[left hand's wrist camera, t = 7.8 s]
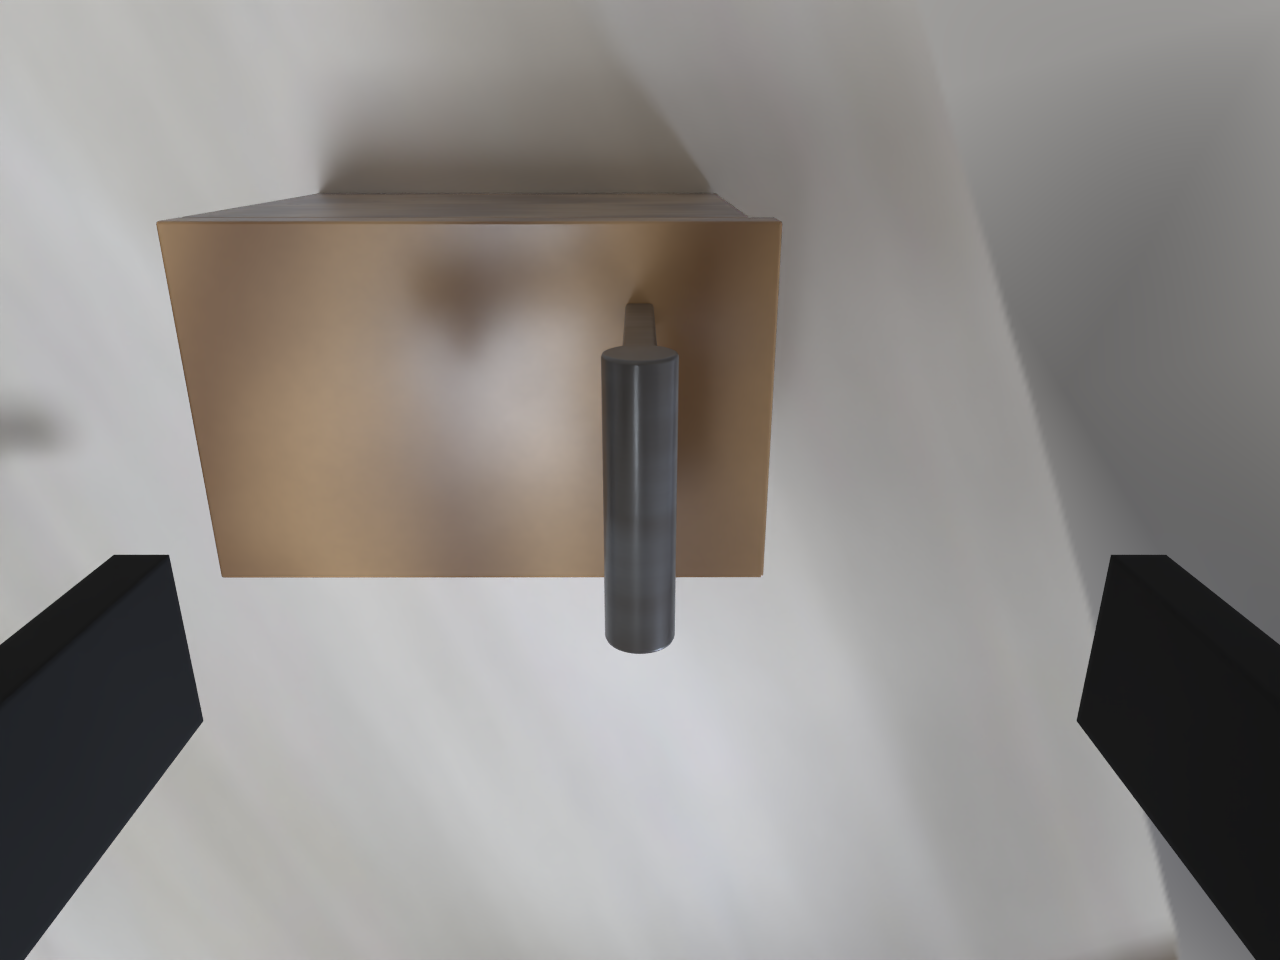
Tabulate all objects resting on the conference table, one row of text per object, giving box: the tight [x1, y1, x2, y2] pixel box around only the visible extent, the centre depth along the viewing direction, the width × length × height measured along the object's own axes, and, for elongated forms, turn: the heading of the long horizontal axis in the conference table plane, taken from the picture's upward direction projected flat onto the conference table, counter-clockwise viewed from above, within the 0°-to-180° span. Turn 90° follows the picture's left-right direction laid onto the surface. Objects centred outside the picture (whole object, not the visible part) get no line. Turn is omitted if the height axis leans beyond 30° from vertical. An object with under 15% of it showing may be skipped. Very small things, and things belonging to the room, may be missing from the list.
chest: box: [182, 193, 749, 218], centre depth 29 cm, size 14×10×10 cm, turn 90°
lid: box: [156, 218, 782, 654], centre depth 21 cm, size 15×10×8 cm, turn 90°
